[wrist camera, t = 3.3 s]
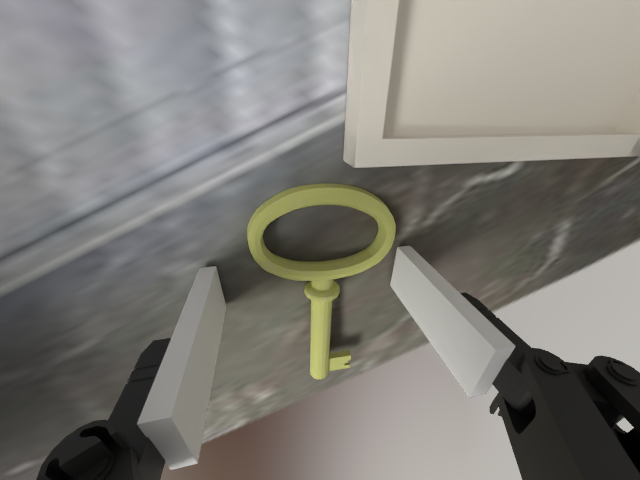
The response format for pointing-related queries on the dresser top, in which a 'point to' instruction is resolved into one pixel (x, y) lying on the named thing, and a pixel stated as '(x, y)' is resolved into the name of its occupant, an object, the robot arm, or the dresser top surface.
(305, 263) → the key
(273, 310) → the dresser top surface
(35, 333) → the dresser top surface
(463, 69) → the tray
